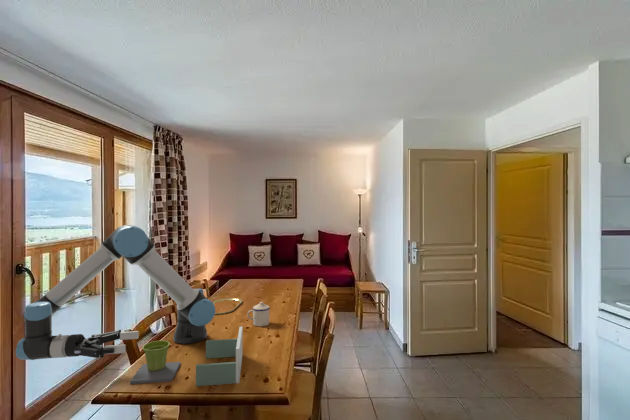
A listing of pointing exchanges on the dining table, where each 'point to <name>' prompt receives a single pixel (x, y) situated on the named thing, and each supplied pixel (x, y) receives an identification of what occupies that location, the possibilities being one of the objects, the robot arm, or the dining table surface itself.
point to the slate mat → (156, 374)
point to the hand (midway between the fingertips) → (132, 341)
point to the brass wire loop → (228, 299)
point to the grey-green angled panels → (221, 371)
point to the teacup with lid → (260, 314)
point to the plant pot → (156, 354)
